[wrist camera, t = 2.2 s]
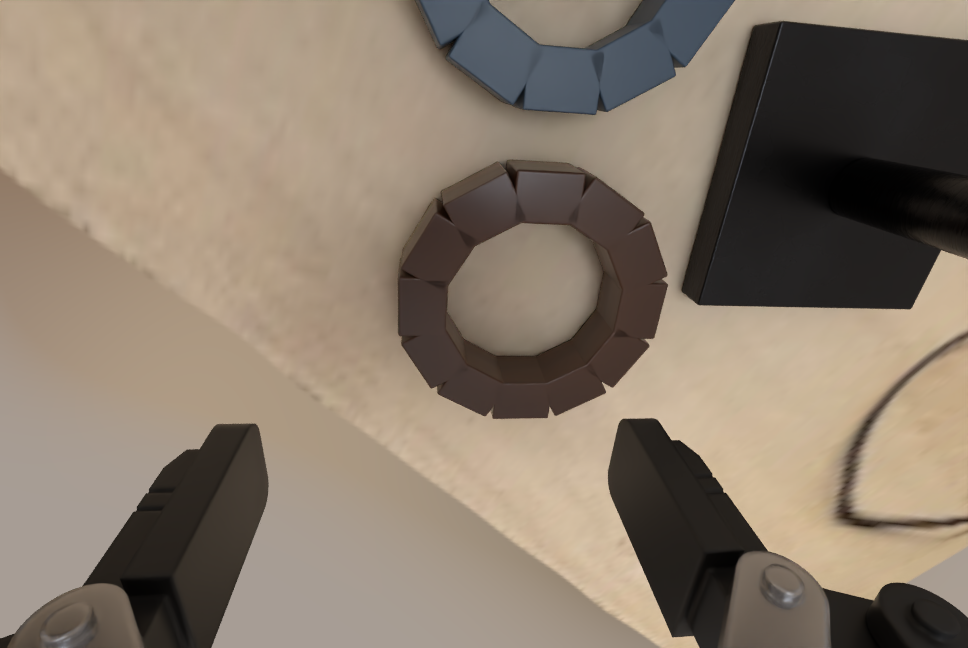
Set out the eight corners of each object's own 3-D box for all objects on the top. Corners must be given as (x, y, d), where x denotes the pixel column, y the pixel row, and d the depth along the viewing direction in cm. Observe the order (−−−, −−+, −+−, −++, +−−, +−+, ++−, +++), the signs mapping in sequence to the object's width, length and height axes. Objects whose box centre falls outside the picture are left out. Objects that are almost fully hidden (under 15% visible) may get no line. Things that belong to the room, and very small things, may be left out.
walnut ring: (400, 389, 22) (398, 420, 20) (399, 153, 17) (396, 162, 15) (616, 388, 23) (634, 417, 21) (667, 168, 19) (696, 179, 17)
